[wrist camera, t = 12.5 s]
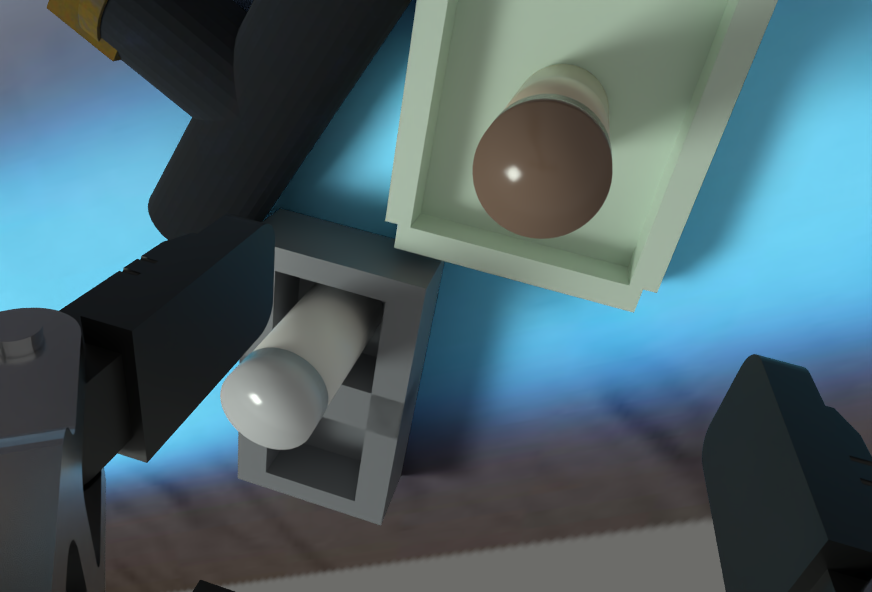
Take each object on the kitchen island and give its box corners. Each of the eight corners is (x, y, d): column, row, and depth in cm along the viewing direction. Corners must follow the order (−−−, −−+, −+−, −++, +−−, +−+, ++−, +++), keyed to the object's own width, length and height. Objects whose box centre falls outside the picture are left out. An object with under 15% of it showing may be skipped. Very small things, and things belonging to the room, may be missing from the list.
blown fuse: (524, 52, 25) (488, 87, 18) (624, 74, 25) (632, 121, 17) (501, 149, 27) (460, 220, 20) (593, 172, 27) (588, 253, 19)
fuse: (313, 261, 32) (220, 355, 24) (388, 282, 31) (317, 385, 24) (308, 326, 34) (220, 432, 26) (379, 347, 33) (310, 461, 26)
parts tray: (449, -115, 24) (434, -123, 22) (781, -52, 22) (799, -53, 20) (397, 224, 31) (381, 244, 29) (644, 290, 29) (647, 316, 27)
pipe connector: (0, 114, 27) (115, -243, 20) (84, 91, 32) (204, -207, 24) (212, 276, 29) (391, 4, 22) (264, 233, 34) (427, -5, 26)
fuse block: (280, 208, 32) (241, 237, 29) (446, 252, 31) (426, 288, 28) (269, 434, 40) (237, 478, 37) (400, 476, 39) (380, 525, 36)
